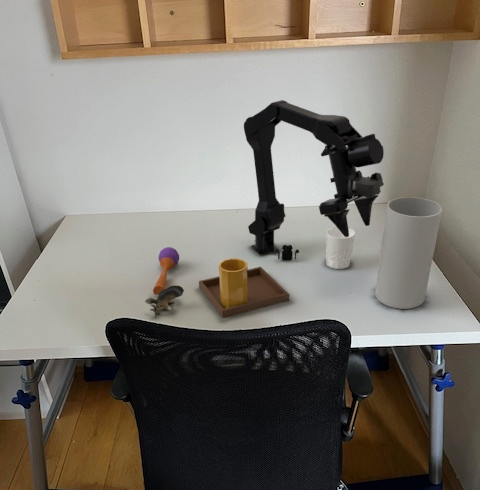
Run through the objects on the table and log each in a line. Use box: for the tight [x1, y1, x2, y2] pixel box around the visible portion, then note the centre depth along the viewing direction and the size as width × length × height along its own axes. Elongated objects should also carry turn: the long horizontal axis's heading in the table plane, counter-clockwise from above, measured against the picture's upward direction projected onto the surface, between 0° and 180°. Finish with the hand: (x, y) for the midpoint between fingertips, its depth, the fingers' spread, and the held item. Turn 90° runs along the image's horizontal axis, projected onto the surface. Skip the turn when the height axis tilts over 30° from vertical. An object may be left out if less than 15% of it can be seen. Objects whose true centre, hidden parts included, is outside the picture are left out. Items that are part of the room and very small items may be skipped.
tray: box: [198, 266, 290, 319], centre depth 141 cm, size 17×19×3 cm
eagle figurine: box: [144, 285, 185, 318], centre depth 136 cm, size 8×7×9 cm
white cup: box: [325, 226, 356, 270], centre depth 154 cm, size 8×8×10 cm
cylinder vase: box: [374, 196, 443, 310], centre depth 133 cm, size 12×12×25 cm
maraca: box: [152, 246, 180, 295], centre depth 150 cm, size 6×6×20 cm
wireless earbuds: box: [274, 244, 300, 262], centre depth 158 cm, size 7×2×5 cm, turn 86°
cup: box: [218, 258, 249, 309], centre depth 135 cm, size 7×7×11 cm
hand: (357, 231), depth 137 cm, fingers open, 9 cm apart
